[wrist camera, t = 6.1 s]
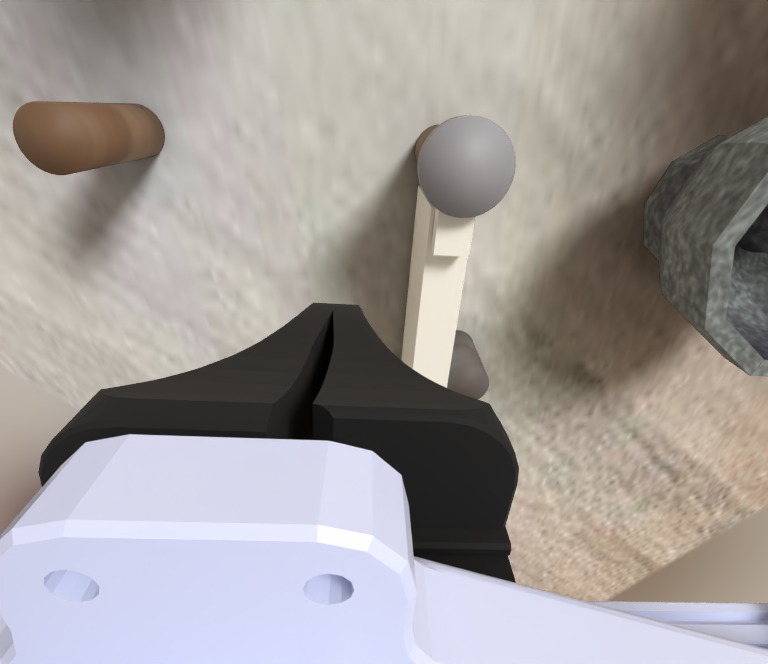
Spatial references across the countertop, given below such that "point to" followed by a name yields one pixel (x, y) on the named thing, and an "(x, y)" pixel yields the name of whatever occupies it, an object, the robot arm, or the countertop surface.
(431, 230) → the gate
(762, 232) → the mortar and pestle
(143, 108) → the posts
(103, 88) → the countertop surface
